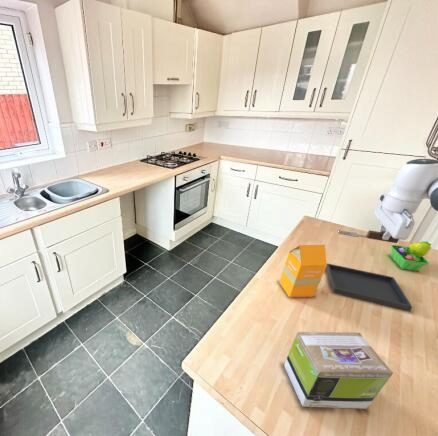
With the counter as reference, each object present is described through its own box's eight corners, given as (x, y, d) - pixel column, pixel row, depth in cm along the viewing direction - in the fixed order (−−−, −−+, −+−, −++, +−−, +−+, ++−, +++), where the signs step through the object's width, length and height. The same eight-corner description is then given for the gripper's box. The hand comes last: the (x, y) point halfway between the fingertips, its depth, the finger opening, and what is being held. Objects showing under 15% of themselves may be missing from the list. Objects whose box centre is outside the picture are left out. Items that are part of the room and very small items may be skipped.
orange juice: (313, 296, 87) (333, 251, 77) (289, 297, 87) (305, 252, 77) (301, 281, 94) (318, 238, 84) (278, 281, 94) (292, 238, 84)
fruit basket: (384, 253, 108) (397, 232, 102) (409, 257, 105) (423, 235, 100) (399, 270, 98) (413, 247, 93) (427, 274, 96) (443, 251, 90)
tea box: (338, 366, 65) (361, 331, 58) (366, 410, 56) (397, 374, 49) (282, 365, 66) (297, 329, 59) (301, 408, 57) (321, 372, 50)
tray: (391, 281, 93) (393, 277, 92) (409, 311, 81) (412, 307, 80) (325, 267, 101) (326, 263, 100) (333, 292, 88) (334, 288, 87)
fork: (394, 240, 93) (398, 234, 92) (397, 244, 91) (401, 237, 89) (337, 230, 100) (339, 224, 98) (338, 234, 97) (341, 228, 96)
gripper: (427, 219, 77) (405, 254, 83) (399, 195, 93) (383, 226, 100) (401, 215, 79) (382, 249, 86) (378, 192, 95) (364, 223, 102)
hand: (382, 236), depth 93 cm, fingers closed on fork
